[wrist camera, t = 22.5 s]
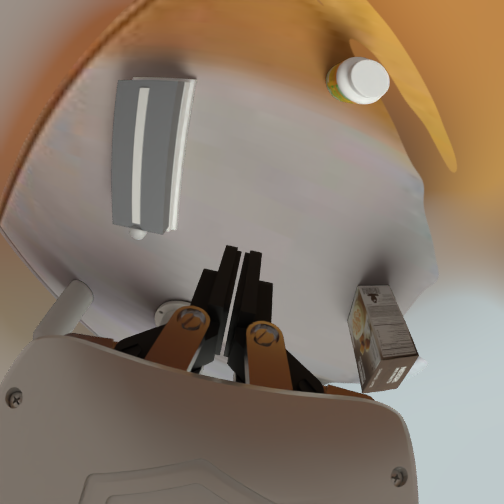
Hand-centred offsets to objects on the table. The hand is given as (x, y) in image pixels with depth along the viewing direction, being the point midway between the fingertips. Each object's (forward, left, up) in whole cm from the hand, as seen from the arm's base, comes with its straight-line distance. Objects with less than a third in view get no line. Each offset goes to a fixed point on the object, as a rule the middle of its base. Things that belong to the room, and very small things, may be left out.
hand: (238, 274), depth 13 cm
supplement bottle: (+13, -8, -25) cm, 29 cm away
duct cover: (-2, +15, -22) cm, 27 cm away
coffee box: (-20, -24, -25) cm, 40 cm away
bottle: (-34, +33, -25) cm, 54 cm away
